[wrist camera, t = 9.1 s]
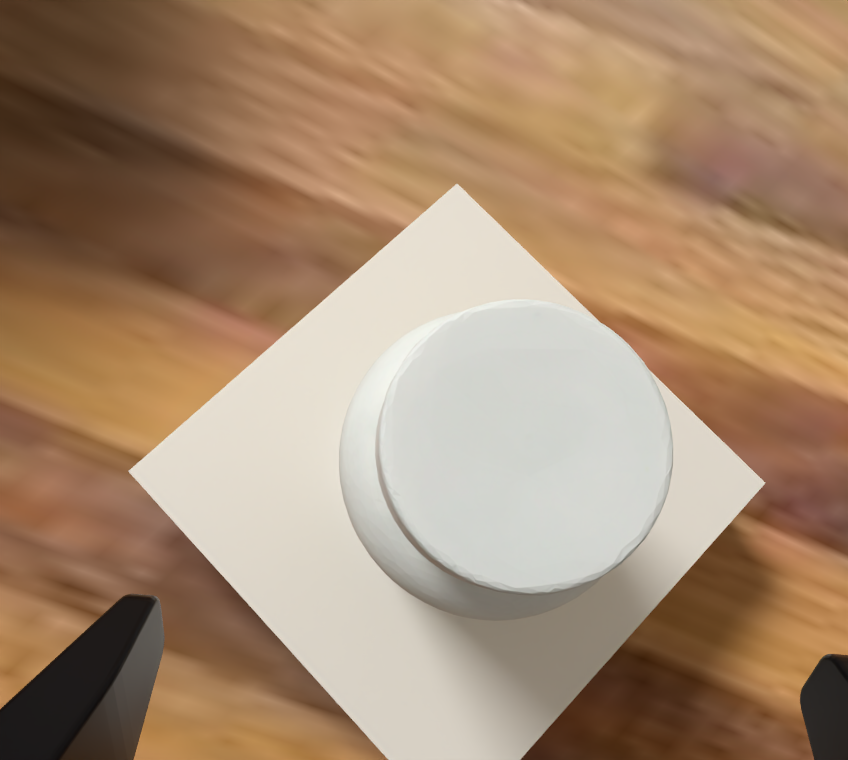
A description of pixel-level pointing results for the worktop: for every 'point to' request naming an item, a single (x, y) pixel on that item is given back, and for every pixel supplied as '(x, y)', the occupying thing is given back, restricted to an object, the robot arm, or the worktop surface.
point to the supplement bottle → (505, 458)
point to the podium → (345, 554)
